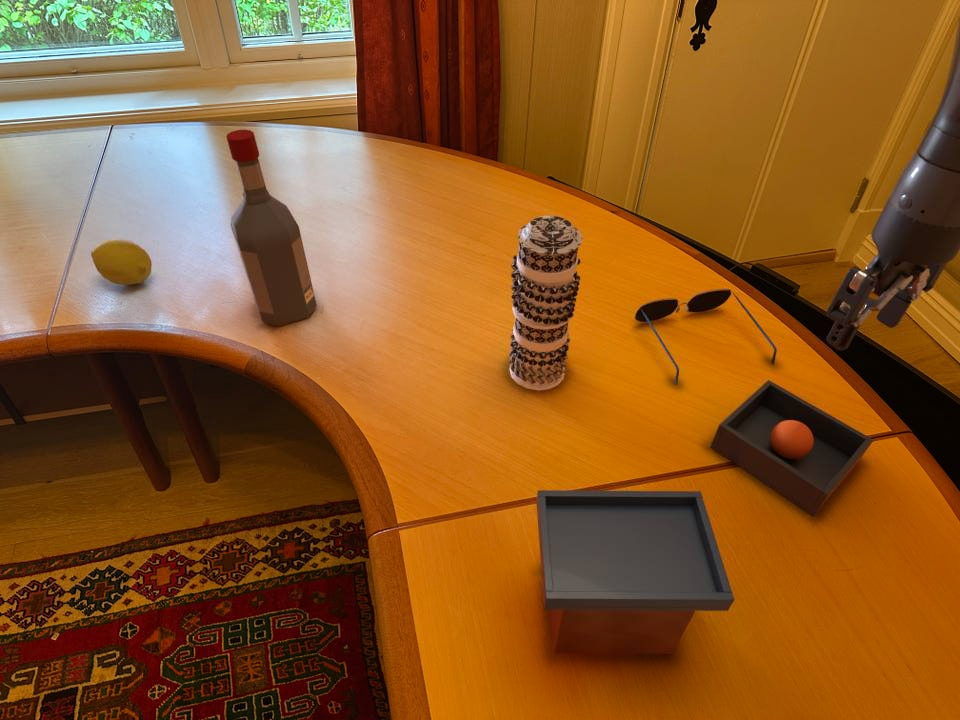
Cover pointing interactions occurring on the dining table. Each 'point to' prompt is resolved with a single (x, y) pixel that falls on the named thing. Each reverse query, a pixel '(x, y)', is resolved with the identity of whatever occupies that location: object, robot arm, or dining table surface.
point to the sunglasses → (694, 305)
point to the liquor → (269, 242)
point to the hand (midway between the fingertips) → (861, 334)
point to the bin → (792, 478)
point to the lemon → (122, 261)
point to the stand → (618, 631)
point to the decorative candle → (543, 301)
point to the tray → (629, 552)
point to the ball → (791, 439)
